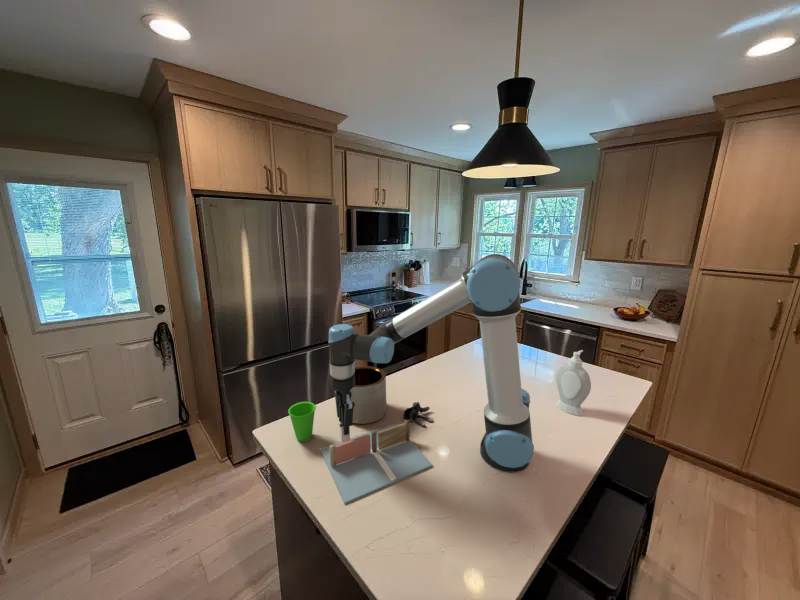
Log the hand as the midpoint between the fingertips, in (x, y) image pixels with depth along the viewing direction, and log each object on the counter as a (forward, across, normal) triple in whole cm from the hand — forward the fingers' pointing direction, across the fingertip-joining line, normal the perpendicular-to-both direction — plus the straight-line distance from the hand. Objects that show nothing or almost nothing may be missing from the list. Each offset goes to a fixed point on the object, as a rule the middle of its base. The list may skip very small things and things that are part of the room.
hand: (345, 440), depth 104 cm
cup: (+4, +13, +10) cm, 17 cm away
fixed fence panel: (+3, -6, -14) cm, 15 cm away
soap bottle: (+3, -21, -87) cm, 89 cm away
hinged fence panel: (+2, -6, 0) cm, 6 cm away
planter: (+4, +17, -14) cm, 22 cm away
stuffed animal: (+4, +5, -30) cm, 31 cm away
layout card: (+3, -8, -7) cm, 11 cm away
